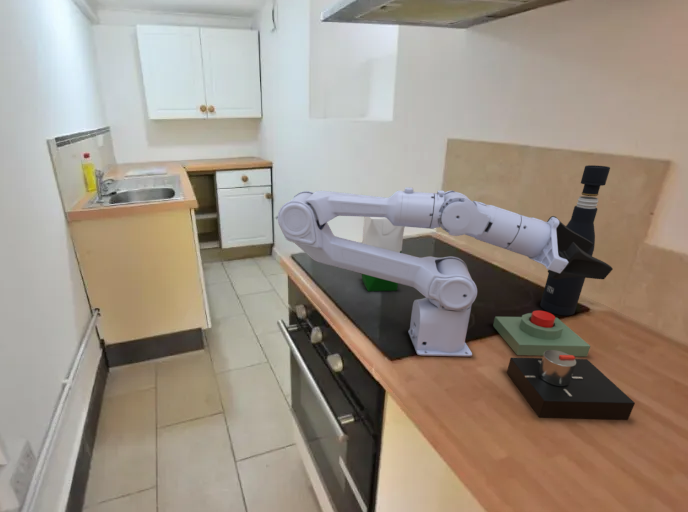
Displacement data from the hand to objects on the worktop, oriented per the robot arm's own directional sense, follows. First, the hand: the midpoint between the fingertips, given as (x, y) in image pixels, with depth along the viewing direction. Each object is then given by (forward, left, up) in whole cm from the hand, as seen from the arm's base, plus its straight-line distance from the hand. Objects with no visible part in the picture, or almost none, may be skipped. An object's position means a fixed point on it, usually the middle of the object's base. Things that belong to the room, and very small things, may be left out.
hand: (597, 260), depth 58 cm
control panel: (-6, -9, -18) cm, 21 cm away
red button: (-2, +6, -15) cm, 16 cm away
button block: (-2, +6, -18) cm, 19 cm away
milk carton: (-28, +30, -18) cm, 45 cm away
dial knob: (-8, -9, -15) cm, 20 cm away
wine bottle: (+9, +19, -18) cm, 28 cm away
